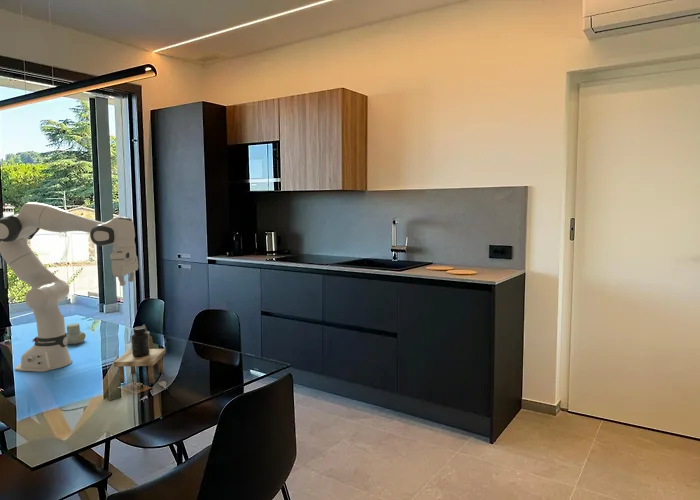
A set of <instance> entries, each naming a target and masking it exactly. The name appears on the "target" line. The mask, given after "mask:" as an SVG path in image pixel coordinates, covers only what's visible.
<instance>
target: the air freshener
mask: <svg viewBox="0 0 700 500" xmlns="http://www.w3.org/2000/svg"><path fill="white" fill-rule="evenodd" d="M80 327H81V326H80V323H77V322H76V323H74V322H73V323H70V324H67V325H66V333H67V345H79V344H81V343H83V341H85V339H86V333H85V332H83V331H81V328H80Z"/></svg>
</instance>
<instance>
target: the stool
mask: <svg viewBox="0 0 700 500" xmlns="http://www.w3.org/2000/svg"><path fill="white" fill-rule="evenodd" d="M166 354H167V351H166V348H154V349H150V353H149V355H147V356H144V357H134V356H133V354H132V349H130V348H129V349H128V350H126V351H125V352H124V353H123V354H121V356H119V357H118V358H117V359H116V360H114V362H113V366H114V368H115V367H117V368H118V378H119V384H120V383H124V382H125V383H126V376H125V367H129V368H130V374H136V373H135V372H137V370H136V369H137V368H136V367H147V373H148V377H147V378H148V384H154V382H155V378H154V377H155V376H154V375H155V374H154V366H155V364H157V373H159V374H160V373H162V374H163V373H164V366H163V365H164V364H163V363H164V362H163V360H164V359H163V357H164V355H166ZM125 383H124V384H125Z"/></svg>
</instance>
